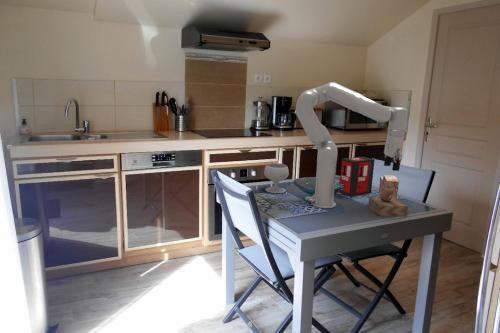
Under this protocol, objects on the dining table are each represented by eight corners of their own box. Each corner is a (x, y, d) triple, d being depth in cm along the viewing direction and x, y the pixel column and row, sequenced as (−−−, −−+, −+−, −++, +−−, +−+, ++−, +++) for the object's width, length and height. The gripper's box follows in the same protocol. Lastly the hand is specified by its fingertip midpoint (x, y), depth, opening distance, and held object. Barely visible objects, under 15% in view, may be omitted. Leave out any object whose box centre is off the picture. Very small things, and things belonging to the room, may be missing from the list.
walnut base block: (378, 215, 184) (379, 206, 183) (368, 206, 198) (369, 197, 197) (407, 216, 185) (408, 206, 184) (394, 206, 199) (395, 197, 197)
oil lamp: (392, 199, 194) (394, 184, 192) (397, 202, 190) (399, 186, 188) (377, 200, 191) (378, 185, 190) (381, 202, 188) (383, 187, 186)
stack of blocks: (378, 191, 226) (380, 171, 224) (389, 192, 225) (391, 171, 223) (384, 202, 206) (386, 180, 203) (396, 203, 205) (399, 181, 202)
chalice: (289, 188, 225) (290, 163, 222) (286, 195, 212) (287, 169, 208) (265, 186, 228) (267, 162, 225) (261, 193, 215) (262, 167, 211)
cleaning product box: (359, 189, 229) (362, 156, 224) (371, 193, 221) (374, 159, 217) (338, 192, 221) (341, 158, 216) (350, 196, 213) (353, 161, 209)
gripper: (381, 130, 191) (376, 163, 195) (396, 135, 174) (391, 172, 178) (395, 131, 191) (391, 164, 195) (412, 136, 174) (406, 172, 178)
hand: (391, 168), depth 186 cm, fingers open, 9 cm apart
